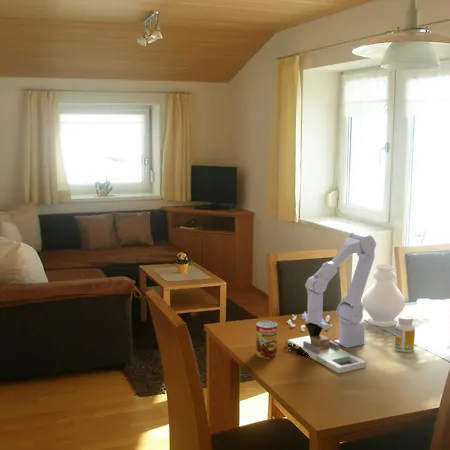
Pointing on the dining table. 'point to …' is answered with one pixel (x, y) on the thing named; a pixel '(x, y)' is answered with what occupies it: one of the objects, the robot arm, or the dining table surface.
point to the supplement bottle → (404, 334)
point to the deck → (330, 355)
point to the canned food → (266, 338)
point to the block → (320, 342)
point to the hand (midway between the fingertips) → (314, 341)
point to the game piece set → (304, 325)
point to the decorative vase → (383, 298)
